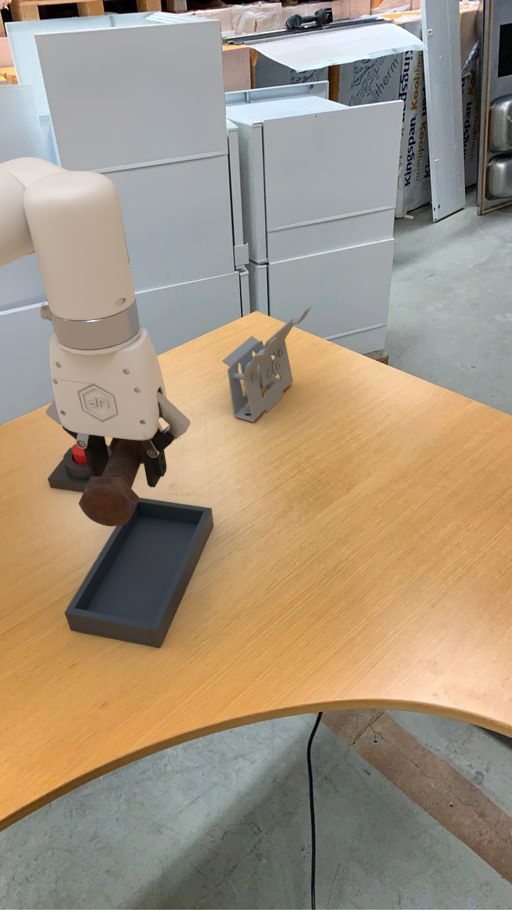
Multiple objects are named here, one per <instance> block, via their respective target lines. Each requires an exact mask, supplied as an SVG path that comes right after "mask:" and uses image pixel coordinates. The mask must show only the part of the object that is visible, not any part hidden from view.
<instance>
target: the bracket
mask: <svg viewBox="0 0 512 910" xmlns="http://www.w3.org/2000/svg"><path fill="white" fill-rule="evenodd" d="M312 307H313V306H311V305H310V306H308V307H307V308H305V310H304V311H303V313H302V315H301V317H298V318H294V317H292V318H291V319H289V320H288V321H287V322H286V323H285V324H284V325H282V327H281V328H279V329H278V330H277V331H276V332H275V333H274V334H273V335H272V336H270V337H269V338H268V339H267V340H266V341H265V343H264V342H263V340H258V339H257V338H256V337H254V336H253V335H251V336H249V337H248V338H247V339H246V340H245V341H243V342H242V343H241V344H240V345H238V347H236V348H235V349H234V350H233V351H232V352H230V353H229V354H228V355H227V356H226V357H225V358H223V360H222V363H223V364H225V365H226V366H228V367H229V368H227V377H228V384H229V391H230V399H231V405H232V406H231V407H232V413H233V416H234V417H235V418H238V419H241V420H244V421H248V422H251V423H254V422H255V421H256V420H257V419H258V418H259V417H260V416H261V415H262V414H263V413H264V411H265V413H268V412H269V411H271V409H272V408H274V406H275V405H276V404H277V403H278V402H279V401H280V400H281V398H283V397H284V391H285V390H287V388H288V387H289V386H290V385H292V383H293V382H294V378H293V374H292V369H291V364H290V359H289V355H288V354H289V353H288V348H287V344H286V339H287V337H288V335H289V334H290V332H291V331H292V329H293V327H294V326H295V325H299V324H301V322H302V321H303V320H305V318H306V317H307V315H308V313H309V312H310V311H311V308H312ZM253 353H254V356H253ZM272 356H273V357H274V358H273V357H272ZM239 365H240V372H241V373H240V372H239ZM277 376H279V377H277ZM242 381H243V386H244V389H245V391H244V393H243V387H242ZM265 387H266V388H267V389H266V390H265V391H264V392H263V394H262V389H263V388H265ZM262 395H263V396H262ZM246 404H248V405H249V406H247V405H246Z"/></svg>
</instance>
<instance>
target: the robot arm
mask: <svg viewBox="0 0 512 910" xmlns="http://www.w3.org/2000/svg"><path fill="white" fill-rule="evenodd" d="M121 208H122V207H121V201H120V197H119V192H118V189H117V187H116V185H115V183H114V182H113V181H112V180H111V179H110V178H109V177H108V176H106V175H105V174H102V173H99V172H95V171H90V170H89V171H88V170H68V169H67V168H64V167H62V166H59V165H58V164H55V163H53V162H51V161H48V160H46V159H43V158H40V157H34V156H22V157H16V158H14V159H10V160H7V161H3V162H1V163H0V268H2V267H4V266H6V265H8V264H10V263H12V262H15V261H17V260H18V259H20V258H23V257H25V256H28V255H32V254H35V256H36V257H35V258H36V261H37V263H38V269H39V272H40V275H41V276H40V277H41V280H42V284H43V288H44V292H45V297H46V299H47V304H42V305H41V307H40V311H39V313H40V317H41V318H42V319H43V320H47V321H49V322H51V324H52V327H53V330H54V333H53V334H51V336H50V337H49V349H48V350H49V352H48V353H49V371H50V380H51V387H52V392H53V397H54V400H53V401H52V403H51V404H50V405H49V406H48V407H47V409H46V410H45V414H46V415H47V416H48V417H49V418H50V419H51V420H53V422H55V423H57V424H58V425H61V427H62V429H63V431H65V433H67V434H68V435H70V437H72V438H73V439H74V440H76V441H75V444H77V446H78V447H79V448H81V449H83V450H84V453H85V457H86V461H87V465H88V467H89V468H90V472H91V476H92V477H101V476H102V474H103V472H104V470H105V468H106V466H107V464H108V461H109V454H108V450H107V445H108V444H107V442H106V441H107V440H106V438H112V439H113V438H121V439H130V440H139V441H140V443H141V444H142V446H143V448H144V449H145V451H146V454H145V455H144V457H143V463H144V464H143V467H144V473H145V478H146V479H145V480H146V483H147V486H148V487H149V488H156V486H157V484H158V483H159V481H160V479H161V478H163V477H164V476H165V475H166V473H167V467H168V465H167V458H166V453H165V450H166V449H167V448H168V447H169V446H170V445H171V444H172V443H173V441H175V440H177V439H178V438H180V437H182V435H184V434H185V433H186V432H187V431H188V429H189V427H190V426H191V420H190V418H188V417H187V416H186V415H185V414H184V413H183V412H182V411H180V410H179V409H178V408H177V407H176V406H175V405H174V404H173V402H171V401H170V400H169V399H168V398H167V397H168V396H167V391H166V387H165V382H164V378H163V374H162V370H161V365H160V361H159V359H158V356H157V352H156V349H155V347H154V344H153V342H152V339H151V337H150V335H149V332H148V330H147V329H146V328H145V327H141V322H140V316H139V311H138V305H137V298H136V293H135V288H134V280H133V274H132V269H131V268H132V267H131V262H130V257H129V251H128V244H127V238H126V232H125V226H124V221H123V214H122V209H121ZM160 419H162V420H164V422H166V424H168V426H166V427H165V428H164V429H163V427H162V425H161V424H160ZM152 437H153V438H154V439H153V438H152Z"/></svg>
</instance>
